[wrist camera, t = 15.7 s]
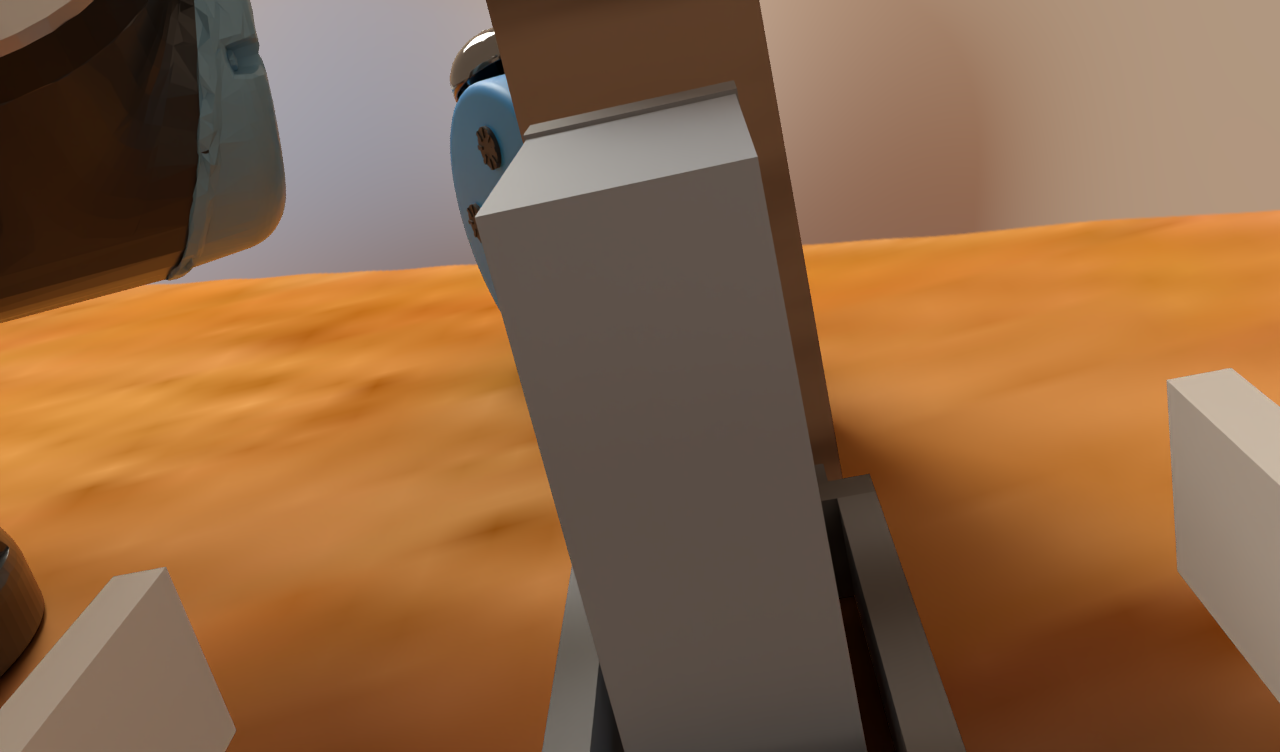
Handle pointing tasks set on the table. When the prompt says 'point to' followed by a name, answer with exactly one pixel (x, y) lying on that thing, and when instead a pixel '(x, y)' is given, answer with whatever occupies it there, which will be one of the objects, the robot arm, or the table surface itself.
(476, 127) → the alarm clock
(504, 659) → the table surface
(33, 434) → the table surface
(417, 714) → the table surface
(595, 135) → the rail end
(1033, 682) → the table surface
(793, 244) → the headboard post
